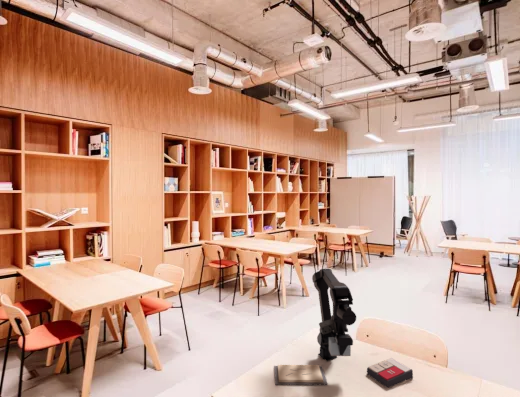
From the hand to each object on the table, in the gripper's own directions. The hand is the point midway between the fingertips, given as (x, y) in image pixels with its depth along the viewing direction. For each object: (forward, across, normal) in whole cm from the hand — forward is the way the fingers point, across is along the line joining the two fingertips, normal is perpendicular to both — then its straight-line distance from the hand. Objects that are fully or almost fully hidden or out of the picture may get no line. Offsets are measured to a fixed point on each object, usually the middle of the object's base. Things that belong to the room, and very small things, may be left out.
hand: (339, 351), depth 133 cm
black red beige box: (+11, 0, +21) cm, 24 cm away
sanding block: (0, 0, 0) cm, 1 cm away
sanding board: (+10, 0, -17) cm, 20 cm away
